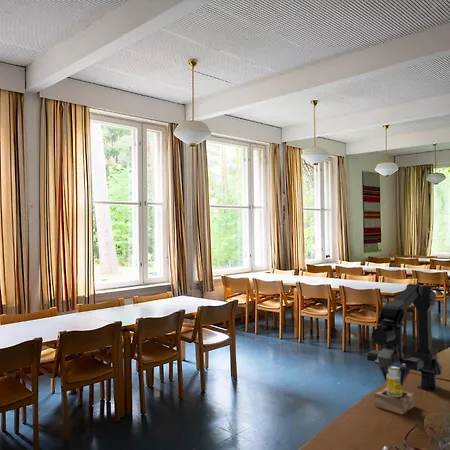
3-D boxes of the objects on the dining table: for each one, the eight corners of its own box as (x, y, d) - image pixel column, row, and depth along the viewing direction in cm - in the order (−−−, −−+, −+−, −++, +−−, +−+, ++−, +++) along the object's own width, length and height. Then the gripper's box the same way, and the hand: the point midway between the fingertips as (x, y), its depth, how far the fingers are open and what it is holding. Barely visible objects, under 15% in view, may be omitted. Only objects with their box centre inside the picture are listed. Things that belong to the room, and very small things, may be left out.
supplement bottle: (392, 391, 164) (392, 364, 164) (405, 395, 160) (405, 368, 160) (383, 394, 161) (383, 367, 161) (396, 398, 157) (396, 371, 157)
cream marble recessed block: (387, 399, 167) (387, 386, 167) (414, 406, 160) (414, 393, 160) (374, 406, 160) (374, 393, 160) (402, 414, 153) (402, 401, 153)
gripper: (358, 339, 162) (359, 383, 161) (410, 349, 148) (410, 396, 148) (373, 334, 169) (374, 375, 169) (423, 342, 156) (424, 387, 156)
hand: (394, 383), depth 160 cm, fingers closed on supplement bottle, 5 cm apart
